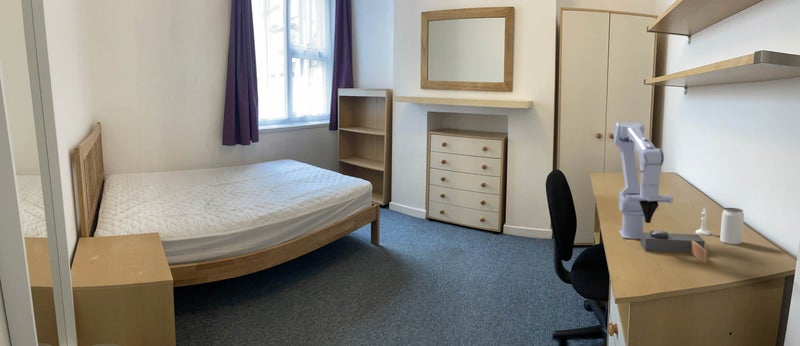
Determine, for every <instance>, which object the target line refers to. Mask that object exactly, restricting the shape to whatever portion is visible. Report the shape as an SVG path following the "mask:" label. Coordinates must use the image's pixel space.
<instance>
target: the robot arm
mask: <svg viewBox="0 0 800 346" xmlns="http://www.w3.org/2000/svg"><path fill="white" fill-rule="evenodd" d="M612 134H613V140H614V146H616V147H617V148H619V152H620V158H621V164H622V165H621V166H622V173H623V179H624V180H623V181H624V186H625V187H624V188H623V189H622V190H621V191H620V192H619V194H618V210H619V211H620V212H621V213H622V219H621V229H619V230H618V232H619V234H620V236H621V237H622V239H633V240H635V239H636V240H641V232H644V227H645V226H644V225H645V223H647V224H650V223H651V222H652V218H653V216H654V214H655V212H656V211H657V209H658V207H659V203H669V204H673V202H674V197H673V196H670V195H668V196H667V195H659V193H660V191H659V190H660V188H659V187H660V177H661V176H660V174H661V166H662V165H663V164H664V159H665V155H664V152H663V149H662V148H657V147H655V145H654V144H653V142H652V140H650V139H649V138H648V137H645V125H644V124H643V122H641V121H639V122H616V123H615V124H614V127H613V133H612ZM635 152H636V154H637V155H638V162H639V170H640V181H639V175H638V168H637V162H636V161H637V160H636V155H635ZM639 182H640V183H639Z"/></svg>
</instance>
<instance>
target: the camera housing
mask: <svg viewBox="0 0 800 346" xmlns="http://www.w3.org/2000/svg"><path fill="white" fill-rule="evenodd" d="M700 236H701V235H700V234H688V233H687V234H686V233H685V234H684V233H683V234H682V233H669V232H667V231H664V230H650V232H644V231H643V232H641V239H640V246H641V247H642V249H643V250H644V252H655V253H657V252H658V253H673V254H674V253H675V254H690V253H691V242H692V241H695V242H696V243H697V244H699V245H700V246H701V247H703V248H704V249H705V243H706V242H705V239H703V238H702V237H700Z"/></svg>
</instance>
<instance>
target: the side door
mask: <svg viewBox="0 0 800 346" xmlns="http://www.w3.org/2000/svg"><path fill="white" fill-rule="evenodd" d="M691 254H692V256H694V257H695V258H696V259H697V260H698V261H700V262H701V263H702V264H707V260H708V259H709V254H708V250H707V249H706V248H705V247H704V248H703V247H701V246H700V245H699V244H697V243H696V242H695V241H692V242H691ZM691 254H690V255H691Z"/></svg>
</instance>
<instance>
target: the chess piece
mask: <svg viewBox="0 0 800 346" xmlns="http://www.w3.org/2000/svg"><path fill="white" fill-rule="evenodd" d="M707 211H708V210H707V209H706V207H703V208H702V212H701V214H700V215H701V218H700V220H702V221H701V225H700V228H699V229H697V230H695V234H696V235H699V236H710V235H711V231H709V230H708V229H707V225H706V221H707V220H708V218H707V216H708V212H707Z"/></svg>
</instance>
